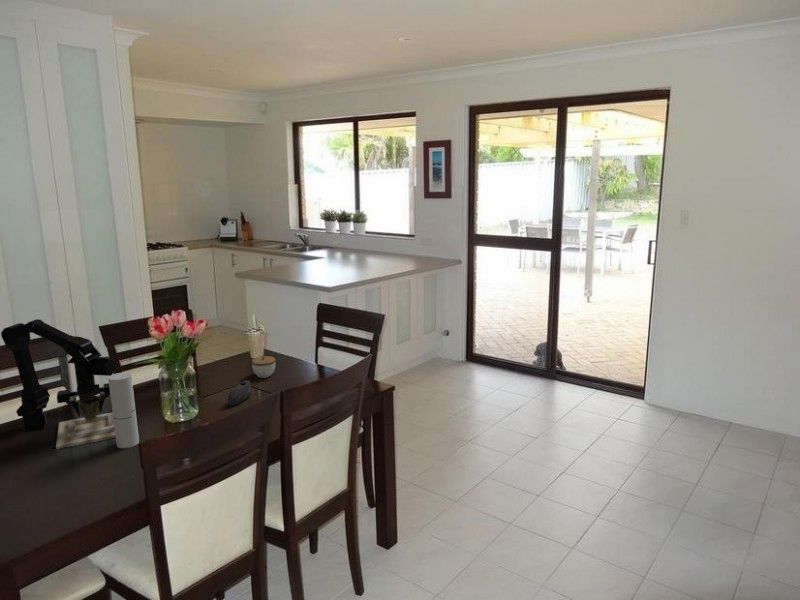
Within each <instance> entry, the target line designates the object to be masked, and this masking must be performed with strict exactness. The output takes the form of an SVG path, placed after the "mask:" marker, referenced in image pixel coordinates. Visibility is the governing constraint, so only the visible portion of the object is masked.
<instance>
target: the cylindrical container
mask: <svg viewBox="0 0 800 600" xmlns="http://www.w3.org/2000/svg"><path fill="white" fill-rule="evenodd" d="M107 379H108V383H109V388H110V395H109V397H110V403H111V404H110V405H111V410H112V412H113V420H114V428H115V435H116V438H115V442H116V447H117V448H119V449H129V448H132V447H135V446H137V445H138V444H139V443H140V436H139V428H138V419H137V410H136V403H135V395H134V394H135V393H134V386H133V376H132V374H131V373H130V372H117V373H113V374H112V375H111V376H107ZM112 412H111V413H112Z"/></svg>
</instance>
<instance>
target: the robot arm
mask: <svg viewBox="0 0 800 600" xmlns="http://www.w3.org/2000/svg"><path fill="white" fill-rule="evenodd" d="M31 333H32V334H35V335H37V336H39V337H40V338H43V339H45V340H46V341H49V342H51V343H52V344H55V345H57V346H59V347H60V348H62V349H63V351H64V353H66V354H67V355H68V356H70V357H71V358H70V359H69V360H68V361H67V363H68V364H74V365H73V366H74V372H75V381H76V391H71V389H64V390H63V389H62V390H59V391H58V392H56V401H57V404H62V403H65V404H66V405H68V404H69V405H70V406H71V407H72V408H73V409H74V411H75V412H76V414H77V416H78V418H81V414H80V412H79V409H78V406H77V402H76V401H77V400H80V401H84V400H92V399H94V398H95V395H96V396H98V395H99V397H100V407H99V413H100V414H102V410H103V407H104V402H105V400H106V398H110V388H109V382H108V383H103V386H102V387H100V384H99V383H98V384H96V381H95V376H107V377H109V376H111V375H113V374H115V369H116V364H115V362H114V360H112V359H111V357H110V356H107V355H106V356H102V353H101V352H100V351H99V350H98V349H97V348H96V346H94V344H93V341H92V340H90V339H88V338H85V337H83V336H77V335H76V336H75V335H74V336H73V335H70V334H69V333H67V332H64V331H63V330H60V329H58V328H56V327H54V326H51V325H50V324H48V323H45V322H44V321H43V320H42V319H39V318H38V319H34V320H30V321H28V322H27V323H23V322H22V323H21V322H19V323H16V324H13V325H10V326H8V327H7V326H6V327H5V328H2V331H1V332H0V336H1V338H2V340H3V343H4V345H5V346H6V347H7V348H8V349H9V350H10V351H12V354H13V358H14V361H15V364H16V367H17V368H16V369H17V371H18V375H19V378H20V382H21V384H22V392H21V396H20V399H21V405H20V406H18V407H17V409H16V411H15V412H16V414H17V416H18V417H22V422H23V432H24V433H25V432H27V433H28V432H33V431H38V430H43V429H45V427H46V425H47V415H46V412H44V409H46V408H47V406H48V403H49V402H50V398H51V394H50V393H49V389H48V386H43V385H42V384H40V382H39V379H38V376H37V373H36V369H35V366H34V362H33V358H32V355H31V351H30V348H29V345H30V341H31ZM77 398H78V399H77Z"/></svg>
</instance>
